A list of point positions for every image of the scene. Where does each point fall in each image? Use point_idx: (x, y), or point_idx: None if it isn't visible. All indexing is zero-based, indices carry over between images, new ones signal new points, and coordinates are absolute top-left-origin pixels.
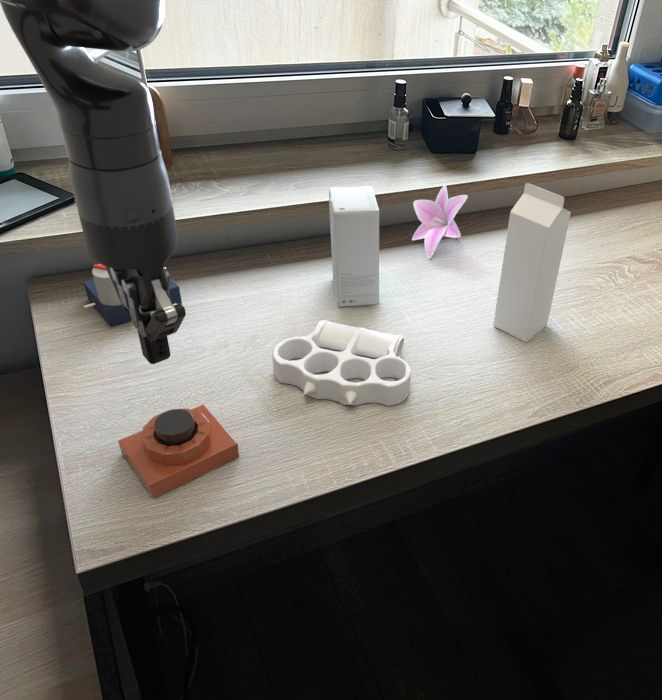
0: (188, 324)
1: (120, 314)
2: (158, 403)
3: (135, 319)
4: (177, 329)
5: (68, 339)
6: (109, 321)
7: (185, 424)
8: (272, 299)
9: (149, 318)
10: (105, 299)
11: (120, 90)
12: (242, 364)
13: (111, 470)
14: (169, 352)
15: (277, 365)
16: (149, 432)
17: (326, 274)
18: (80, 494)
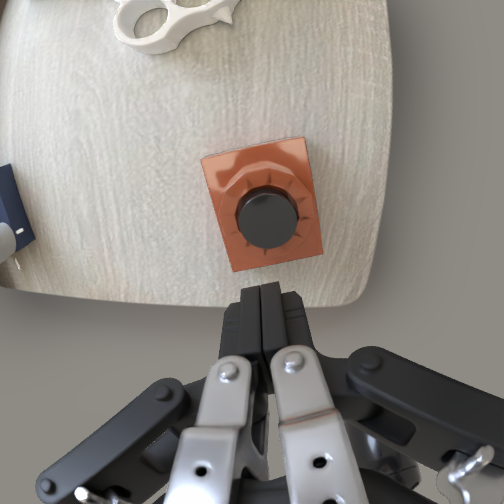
0: (36, 157)
1: (23, 232)
2: (157, 208)
3: (268, 431)
4: (412, 362)
5: (50, 276)
6: (30, 242)
7: (282, 208)
8: (26, 59)
9: (259, 400)
10: (11, 252)
11: None
12: (116, 94)
13: (254, 273)
14: (278, 287)
15: (161, 42)
16: (255, 248)
17: (20, 7)
18: None
